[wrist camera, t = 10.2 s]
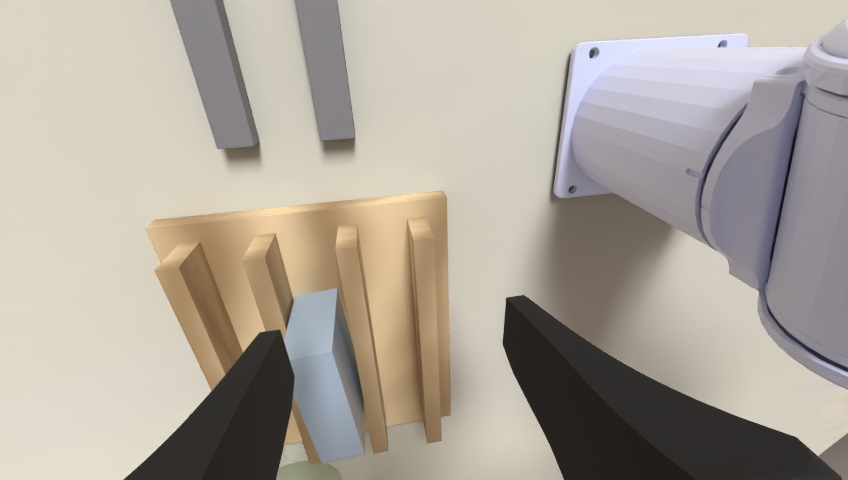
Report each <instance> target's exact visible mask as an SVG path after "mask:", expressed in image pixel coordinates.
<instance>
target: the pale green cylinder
mask: <svg viewBox="0 0 848 480" xmlns="http://www.w3.org/2000/svg"><path fill="white" fill-rule="evenodd" d="M276 480H341V476H340V474H339V472H338V471H337V470H336V469H335V468H334V467H332V466H330V465H328V464H325V463H318V464H313V465H310V462H309V461H306V462H297V463H293V464H289V465H286V466H284V467H282V468H280V469H278V473H277V477H276Z"/></svg>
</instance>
